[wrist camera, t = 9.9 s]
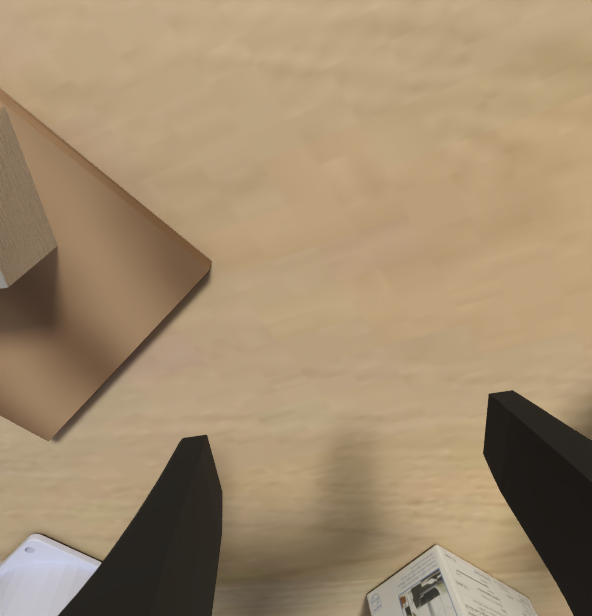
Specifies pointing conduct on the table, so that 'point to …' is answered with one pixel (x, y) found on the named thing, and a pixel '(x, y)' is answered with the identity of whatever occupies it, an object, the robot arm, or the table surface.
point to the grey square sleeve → (19, 211)
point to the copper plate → (82, 284)
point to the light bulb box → (446, 590)
